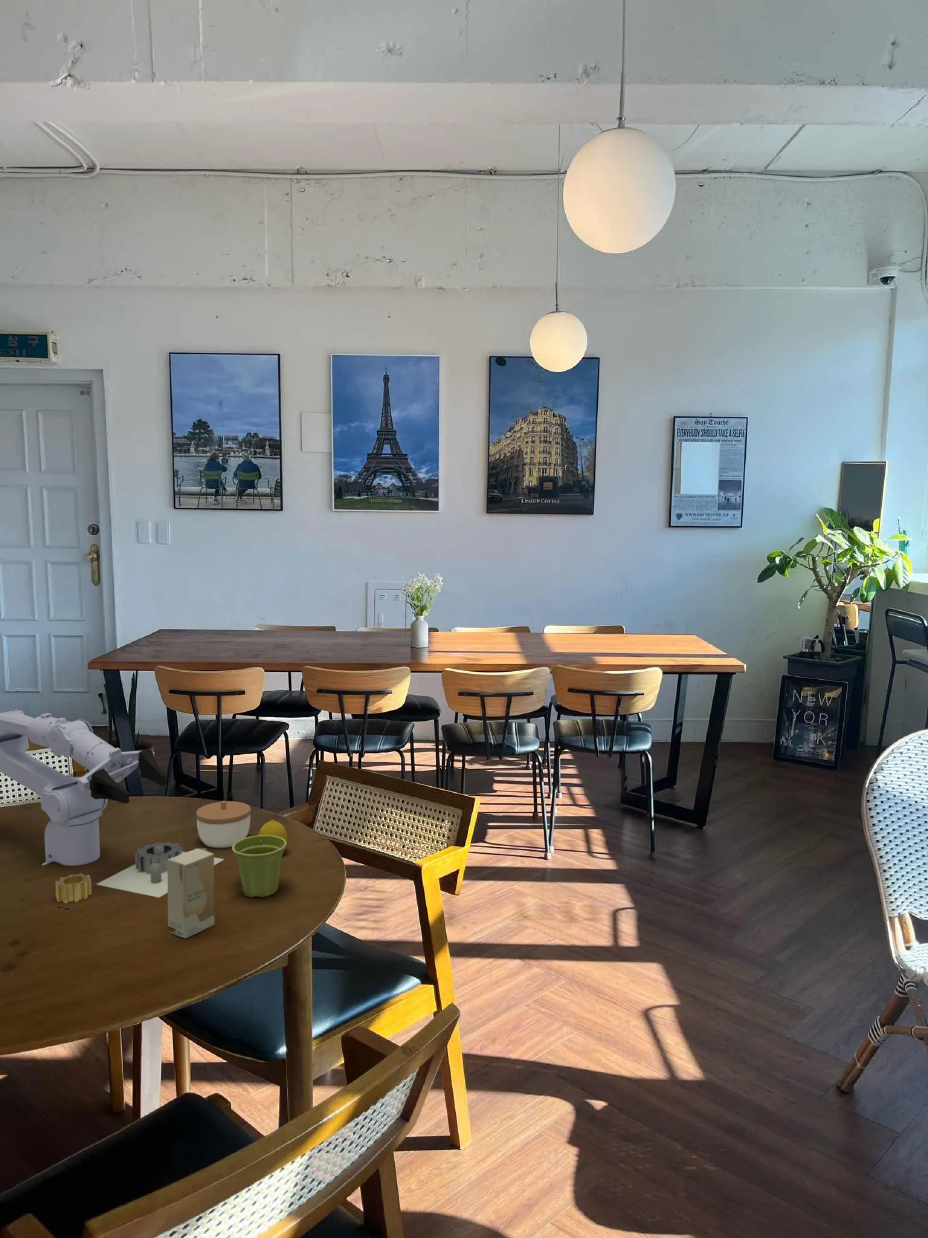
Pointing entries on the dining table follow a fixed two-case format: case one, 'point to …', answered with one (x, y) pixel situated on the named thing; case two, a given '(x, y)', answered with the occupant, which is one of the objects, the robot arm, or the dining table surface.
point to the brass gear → (73, 888)
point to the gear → (155, 856)
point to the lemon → (274, 830)
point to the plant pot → (259, 863)
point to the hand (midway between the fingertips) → (146, 789)
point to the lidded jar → (223, 823)
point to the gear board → (143, 878)
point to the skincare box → (191, 892)
